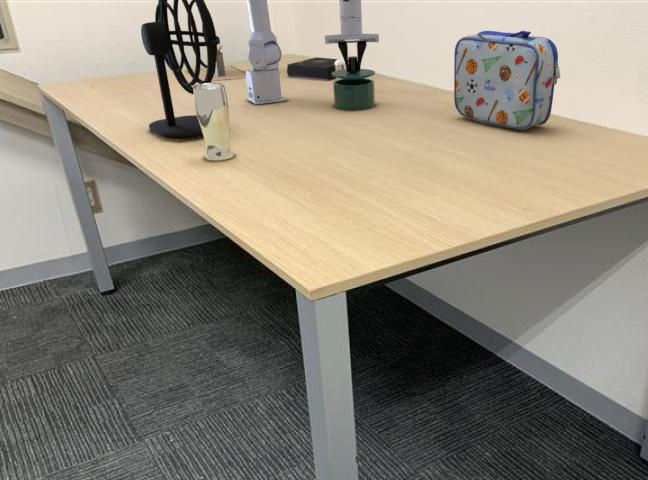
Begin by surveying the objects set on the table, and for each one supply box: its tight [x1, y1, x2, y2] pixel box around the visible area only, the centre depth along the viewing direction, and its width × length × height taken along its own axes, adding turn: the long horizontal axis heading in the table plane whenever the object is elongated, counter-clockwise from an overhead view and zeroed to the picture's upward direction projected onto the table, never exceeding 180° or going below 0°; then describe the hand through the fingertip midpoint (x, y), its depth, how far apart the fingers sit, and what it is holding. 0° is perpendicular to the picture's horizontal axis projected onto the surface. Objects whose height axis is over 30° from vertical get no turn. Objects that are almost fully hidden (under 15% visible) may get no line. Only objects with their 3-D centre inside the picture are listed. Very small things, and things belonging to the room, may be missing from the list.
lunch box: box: [453, 30, 561, 130], centre depth 162 cm, size 28×10×22 cm, turn 45°
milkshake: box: [334, 58, 349, 81], centre depth 205 cm, size 4×5×10 cm
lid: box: [332, 55, 376, 80], centre depth 184 cm, size 12×12×5 cm
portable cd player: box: [286, 57, 349, 82], centre depth 231 cm, size 16×17×4 cm
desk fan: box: [140, 0, 221, 141], centre depth 159 cm, size 27×18×35 cm, turn 36°
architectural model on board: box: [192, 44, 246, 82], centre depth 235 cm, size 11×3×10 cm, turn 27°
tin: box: [332, 78, 376, 111], centre depth 188 cm, size 11×17×6 cm
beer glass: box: [192, 82, 234, 162], centre depth 144 cm, size 7×7×15 cm
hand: (353, 71), depth 184 cm, fingers closed on lid, 2 cm apart
